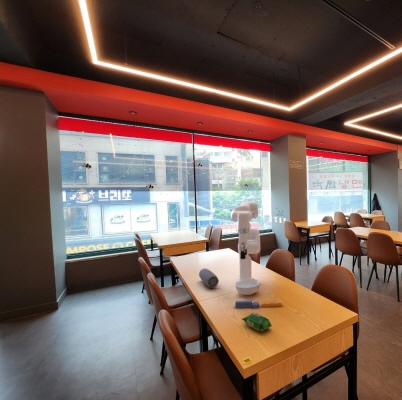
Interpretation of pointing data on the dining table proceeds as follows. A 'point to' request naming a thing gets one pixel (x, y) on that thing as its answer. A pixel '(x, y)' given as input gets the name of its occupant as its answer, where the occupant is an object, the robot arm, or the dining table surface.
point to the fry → (271, 304)
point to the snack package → (257, 322)
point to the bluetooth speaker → (208, 278)
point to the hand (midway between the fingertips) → (243, 256)
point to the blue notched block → (246, 304)
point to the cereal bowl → (248, 286)
